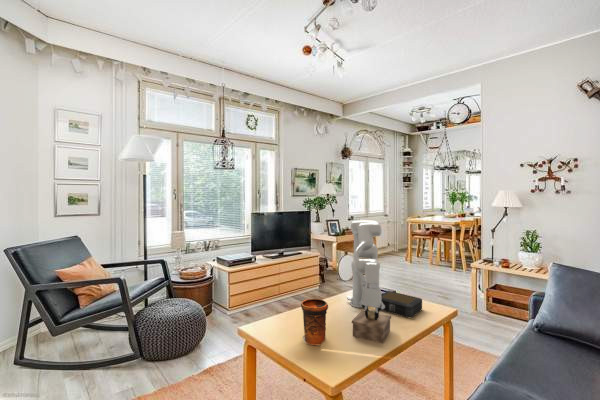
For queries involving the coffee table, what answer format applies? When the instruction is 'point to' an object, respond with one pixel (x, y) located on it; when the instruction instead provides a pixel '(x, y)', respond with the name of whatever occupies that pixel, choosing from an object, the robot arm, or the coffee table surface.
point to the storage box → (371, 332)
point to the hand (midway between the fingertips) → (371, 317)
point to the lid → (371, 320)
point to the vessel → (314, 320)
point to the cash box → (401, 304)
